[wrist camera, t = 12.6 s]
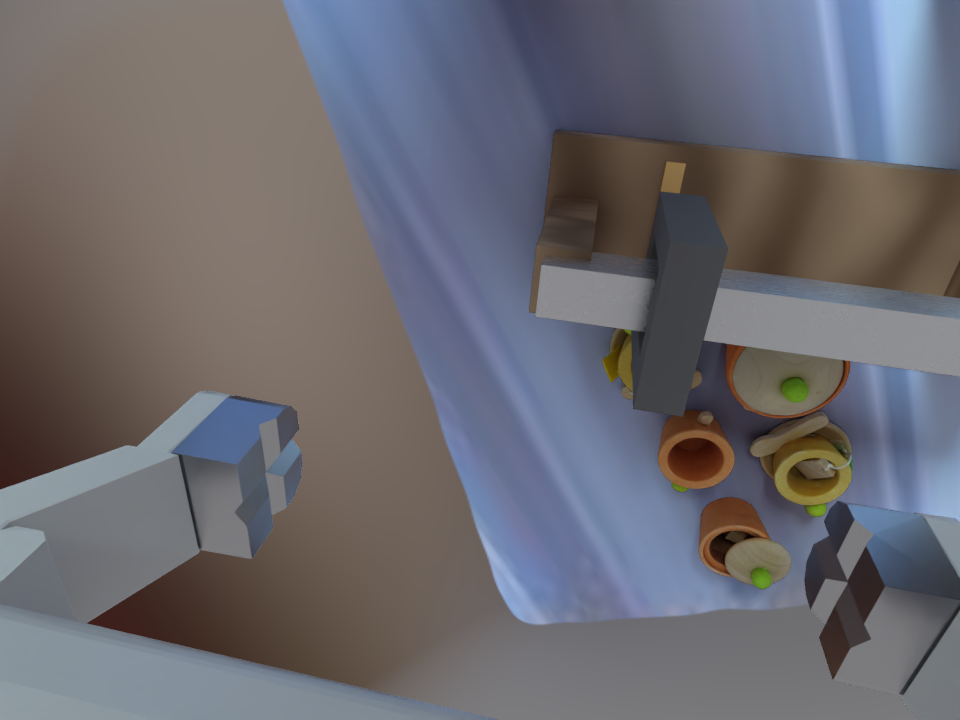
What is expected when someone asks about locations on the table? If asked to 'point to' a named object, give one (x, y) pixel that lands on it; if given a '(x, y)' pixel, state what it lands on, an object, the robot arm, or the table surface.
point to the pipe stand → (762, 247)
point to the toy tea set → (754, 450)
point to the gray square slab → (677, 302)
